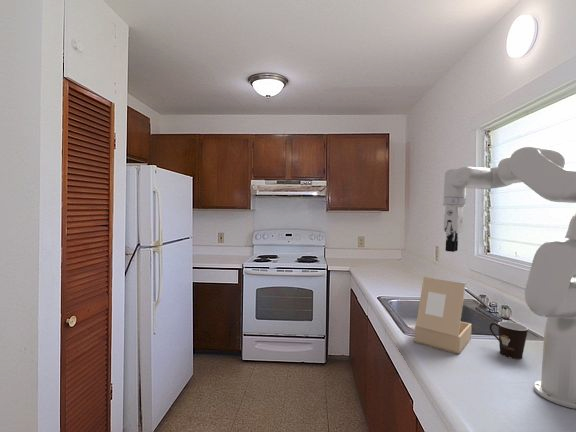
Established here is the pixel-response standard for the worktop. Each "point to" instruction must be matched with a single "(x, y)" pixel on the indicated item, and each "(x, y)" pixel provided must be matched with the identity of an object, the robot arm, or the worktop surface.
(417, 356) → the worktop surface
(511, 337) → the coffee mug
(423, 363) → the worktop surface
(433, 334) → the tan shallow rectangular box
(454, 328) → the lid
